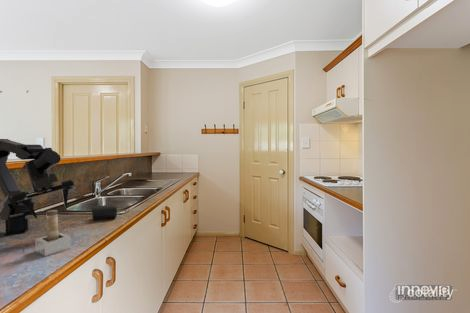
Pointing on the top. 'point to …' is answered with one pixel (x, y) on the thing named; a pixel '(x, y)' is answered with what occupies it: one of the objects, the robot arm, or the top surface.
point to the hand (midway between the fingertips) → (52, 213)
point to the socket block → (52, 244)
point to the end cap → (104, 212)
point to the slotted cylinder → (52, 225)
